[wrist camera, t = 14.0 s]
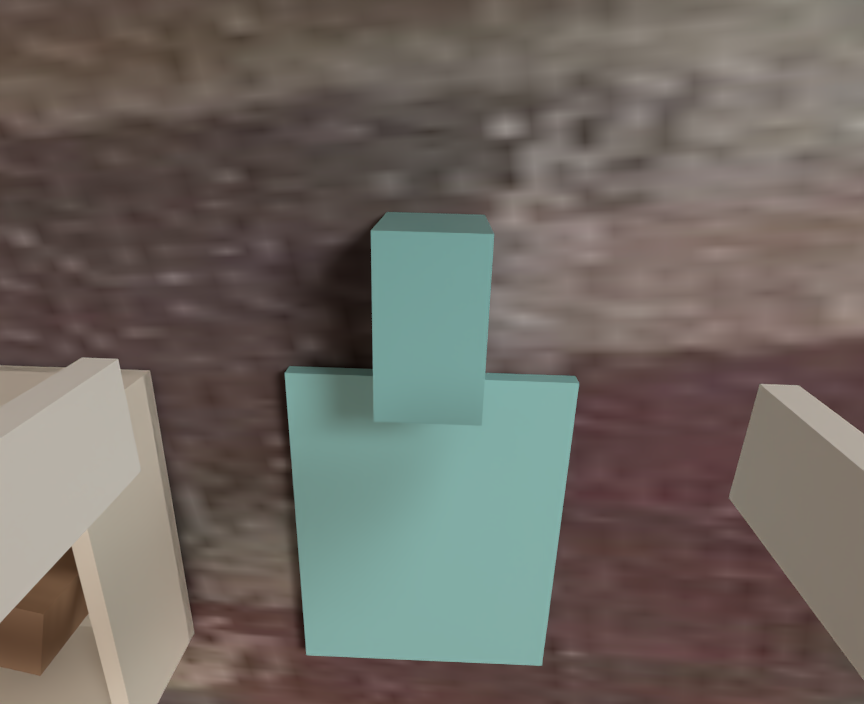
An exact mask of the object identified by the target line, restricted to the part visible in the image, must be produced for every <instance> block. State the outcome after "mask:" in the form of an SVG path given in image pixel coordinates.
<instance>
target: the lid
mask: <svg viewBox="0 0 864 704" xmlns="http://www.w3.org/2000/svg"><path fill="white" fill-rule="evenodd" d="M493 244H494V233H493V231H492V229H491V227H490V224H489V222H488V220H487V218H486V216H485V215H473V214H439V213H405V212H387V213H386V214H385V215H384V216H383V217H382V218H381V219H380V221H379V222H378V223H377V224H376V225H375V226H374V227H373V229H372V230H371V277H372V345H373V369H359V368H330V367H301V366H289V368H288V369H287V370H286V372H285V385H286V397H287V410H288V423H289V436H290V449H291V462H292V475H293V488H294V501H295V514H296V527H297V540H298V553H299V566H300V578H301V591H302V604H303V617H304V630H305V643H306V655H315V656H337V657H359V658H382V659H404V660H427V661H449V662H471V663H494V664H516V665H539V666H542V660H543V653H544V645H545V637H546V630H547V622H548V615H549V607H550V600H551V592H552V585H553V577H554V569H555V562H556V554H557V547H558V539H559V532H560V524H561V517H562V509H563V502H564V494H565V486H566V479H567V471H568V464H569V456H570V449H571V441H572V434H573V426H574V418H575V411H576V403H577V396H578V388H579V382H578V380H577V378H576V376H561V375H532V374H503V373H485V368H486V352H487V337H488V321H489V306H490V290H491V275H492V260H493Z"/></svg>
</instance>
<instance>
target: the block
mask: <svg viewBox="0 0 864 704" xmlns="http://www.w3.org/2000/svg"><path fill="white" fill-rule="evenodd" d="M88 614H89V613H88V609H87V605H86V601H85V597H84V593H83V589H82V585H81V581H80V577H79V573H78V569H77V566H76V562H75V558H74V554H73V550H72V546H71V547H70V548H69V549H68V550H67V552H66V553H65V554H64V555H63V556H62V557H61V558H60V559H59V560H58V561H57V562H56V563H55V564H54V566H53V567H52V568H51V569H50V570H49V571H48V572H47V573H46V574H45V575H44V576H43V577H42V578H41V579H40V581H39V582H38V583H37V584H36V585H35V586H34V587H33V588H32V589H31V590H30V591H29V592H28V593H27V595H26V596H25V597H24V598H23V599H22V600H21V601H20V602H19V603H18V604H17V605H16V606H15V607H14V609H13V610H12V611H11V612H10V613H9V614H8V615H7V616H6V617H5V618H4V619H3V620H2V621H1V623H0V667H3V668H7V669H12V670H16V671H21V672H25V673H29V674H34V675H38V676H41V675H42V673H43V672H44V671H45V669H46V668H47V667H48V666H49V664H50V663H51V662H52V660H53V659H54V658H55V656H56V655H57V654H58V653H59V651H60V650H61V649H62V647H63V646H64V645H65V643H66V642H67V641H68V640H69V638H70V637H71V636H72V634H73V633H74V632H75V630H76V629H77V628H78V627H79V625H80V624H81V623H82V621H83V620H84V619H85V617H86V616H87V615H88Z"/></svg>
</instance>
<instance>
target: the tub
mask: <svg viewBox="0 0 864 704" xmlns="http://www.w3.org/2000/svg"><path fill="white" fill-rule="evenodd" d="M64 368H65V367H35V366H6V365H0V407H1V406H3V405H4V404H6V403H8V402H9V401H11V400H13V399H14V398H16V397H18V396H19V395H21V394H23V393H24V392H26V391H28V390H29V389H31V388H33V387H34V386H36V385H38V384H39V383H41V382H42V381H44V380H46V379H47V378H49V377H51V376H52V375H54V374H56V373H57V372H59V371H61V370H62V369H64ZM120 370H121V375H122V380H123V385H124V390H125V394H126V399H127V404H128V409H129V414H130V419H131V424H132V428H133V433H134V438H135V443H136V448H137V453H138V458H139V462H140V467H141V472H140V473H139V474H138V475H137V476H136V477H135V478H134V479H133V481H132V482H131V483H130V484H129V485H128V486H127V487H126V488H125V489H124V490H123V491H122V492H121V493H120V494H119V496H118V497H117V498H116V499H115V500H114V501H113V502H112V503H111V504H110V505H109V506H108V507H107V508H106V510H105V511H104V512H103V513H102V514H101V515H100V516H99V517H98V518H97V519H96V520H95V521H94V522H93V524H92V525H91V526H90V527H89V528H88V529H87V530H86V531H85V532H84V533H83V534H82V535H81V536H80V538H79V539H78V540H77V541H76V542H75V543H74V544H73V545H72V550H73V554H74V558H75V562H76V566H77V569H78V573H79V577H80V581H81V585H82V589H83V593H84V597H85V601H86V605H87V609H88V613H89V614H88V615H87V616H86V617H85V619H84V620H83V621H82V623H81V624H80V625H79V627H78V628H77V629H76V630H75V632H74V633H73V634H72V636H71V637H70V638H69V640H68V641H67V642H66V643H65V645H64V646H63V647H62V649H61V650H60V651H59V653H58V654H57V655H56V656H55V658H54V659H53V660H52V662H51V663H50V664H49V666H48V667H47V668H46V669H45V671H44V672H43V673H42V675H41V676H38V675H34V674H29V673H25V672H21V671H16V670H12V669H7V668H3V667H0V704H157V703H158V702H159V700H160V698H161V696H162V694H163V692H164V690H165V688H166V686H167V684H168V682H169V681H170V679H171V677H172V675H173V673H174V671H175V669H176V667H177V665H178V663H179V661H180V659H181V658H182V656H183V654H184V652H185V650H186V648H187V646H188V644H189V642H190V640H191V638H192V636H193V635H194V627H193V621H192V615H191V609H190V603H189V598H188V592H187V586H186V580H185V574H184V568H183V562H182V556H181V550H180V544H179V538H178V533H177V527H176V521H175V515H174V509H173V503H172V497H171V491H170V485H169V479H168V473H167V468H166V462H165V456H164V450H163V444H162V438H161V432H160V426H159V420H158V414H157V408H156V403H155V397H154V391H153V385H152V379H151V373H150V370H123V369H120Z"/></svg>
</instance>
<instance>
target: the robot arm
mask: <svg viewBox="0 0 864 704" xmlns="http://www.w3.org/2000/svg"><path fill="white" fill-rule="evenodd" d="M140 472H141V467H140V462H139V458H138V453H137V448H136V443H135V438H134V433H133V428H132V424H131V419H130V414H129V409H128V404H127V399H126V394H125V390H124V385H123V380H122V375H121V370H120V365H119V360H118V359H107V358H81V359H79V360H77V361H76V362H74V363H72V364H71V365H69V366H67V367H66V368H64V369H62V370H61V371H59V372H57V373H56V374H54V375H52V376H51V377H49V378H47V379H46V380H44V381H42V382H41V383H39V384H38V385H36V386H34V387H33V388H31V389H29V390H28V391H26V392H24V393H23V394H21V395H19V396H18V397H16V398H14V399H13V400H11V401H9V402H8V403H6V404H4V405H3V406H1V407H0V623H1V621H2V620H3V619H4V618H5V617H6V616H7V615H8V614H9V613H10V612H11V611H12V610H13V609H14V607H15V606H16V605H17V604H18V603H19V602H20V601H21V600H22V599H23V598H24V597H25V596H26V595H27V593H28V592H29V591H30V590H31V589H32V588H33V587H34V586H35V585H36V584H37V583H38V582H39V581H40V579H41V578H42V577H43V576H44V575H45V574H46V573H47V572H48V571H49V570H50V569H51V568H52V567H53V566H54V564H55V563H56V562H57V561H58V560H59V559H60V558H61V557H62V556H63V555H64V554H65V553H66V552H67V550H68V549H69V548H70V547H71V546H72V545H73V544H74V543H75V542H76V541H77V540H78V539H79V538H80V536H81V535H82V534H83V533H84V532H85V531H86V530H87V529H88V528H89V527H90V526H91V525H92V524H93V522H94V521H95V520H96V519H97V518H98V517H99V516H100V515H101V514H102V513H103V512H104V511H105V510H106V508H107V507H108V506H109V505H110V504H111V503H112V502H113V501H114V500H115V499H116V498H117V497H118V496H119V494H120V493H121V492H122V491H123V490H124V489H125V488H126V487H127V486H128V485H129V484H130V483H131V482H132V481H133V479H134V478H135V477H136V476H137V475H138V474H139V473H140ZM729 499H730V500H731V501H732V503H733V504H734V505H735V507H736V508H737V509H738V511H739V512H740V513H741V515H742V516H743V518H744V519H745V520H746V522H747V523H748V524H749V526H750V527H751V528H752V530H753V531H754V532H755V534H756V535H757V536H758V538H759V539H760V540H761V542H762V543H763V545H764V546H765V547H766V549H767V550H768V551H769V553H770V554H771V555H772V557H773V558H774V559H775V561H776V562H777V563H778V565H779V566H780V568H781V569H782V570H783V572H784V573H785V574H786V576H787V577H788V578H789V580H790V581H791V582H792V584H793V585H794V586H795V588H796V589H797V590H798V592H799V593H800V595H801V596H802V597H803V599H804V600H805V601H806V603H807V604H808V605H809V607H810V608H811V609H812V611H813V612H814V613H815V615H816V616H817V617H818V619H819V620H820V622H821V623H822V624H823V626H824V627H825V628H826V630H827V631H828V632H829V634H830V635H831V636H832V638H833V639H834V640H835V642H836V643H837V645H838V646H839V647H840V649H841V650H842V651H843V653H844V654H845V655H846V657H847V658H848V659H849V661H850V662H851V663H852V665H853V666H854V667H855V669H856V670H857V672H858V673H859V674H860V676H861V677H862V678H863V680H864V434H863V433H862V432H860V431H859V430H858V429H856V428H855V427H854V426H852V425H851V424H850V423H848V422H847V421H846V420H844V419H843V418H842V417H840V416H839V415H838V414H836V413H835V412H834V411H832V410H831V409H830V408H828V407H827V406H826V405H824V404H823V403H822V402H820V401H819V400H817V399H816V398H815V397H813V396H812V395H811V394H809V393H808V392H807V391H805V390H804V389H803V388H801V387H800V386H799V385H773V384H760V385H759V389H758V393H757V396H756V400H755V404H754V407H753V411H752V415H751V418H750V422H749V426H748V429H747V433H746V437H745V440H744V444H743V448H742V451H741V455H740V459H739V462H738V466H737V470H736V473H735V477H734V481H733V484H732V488H731V492H730V495H729Z"/></svg>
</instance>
